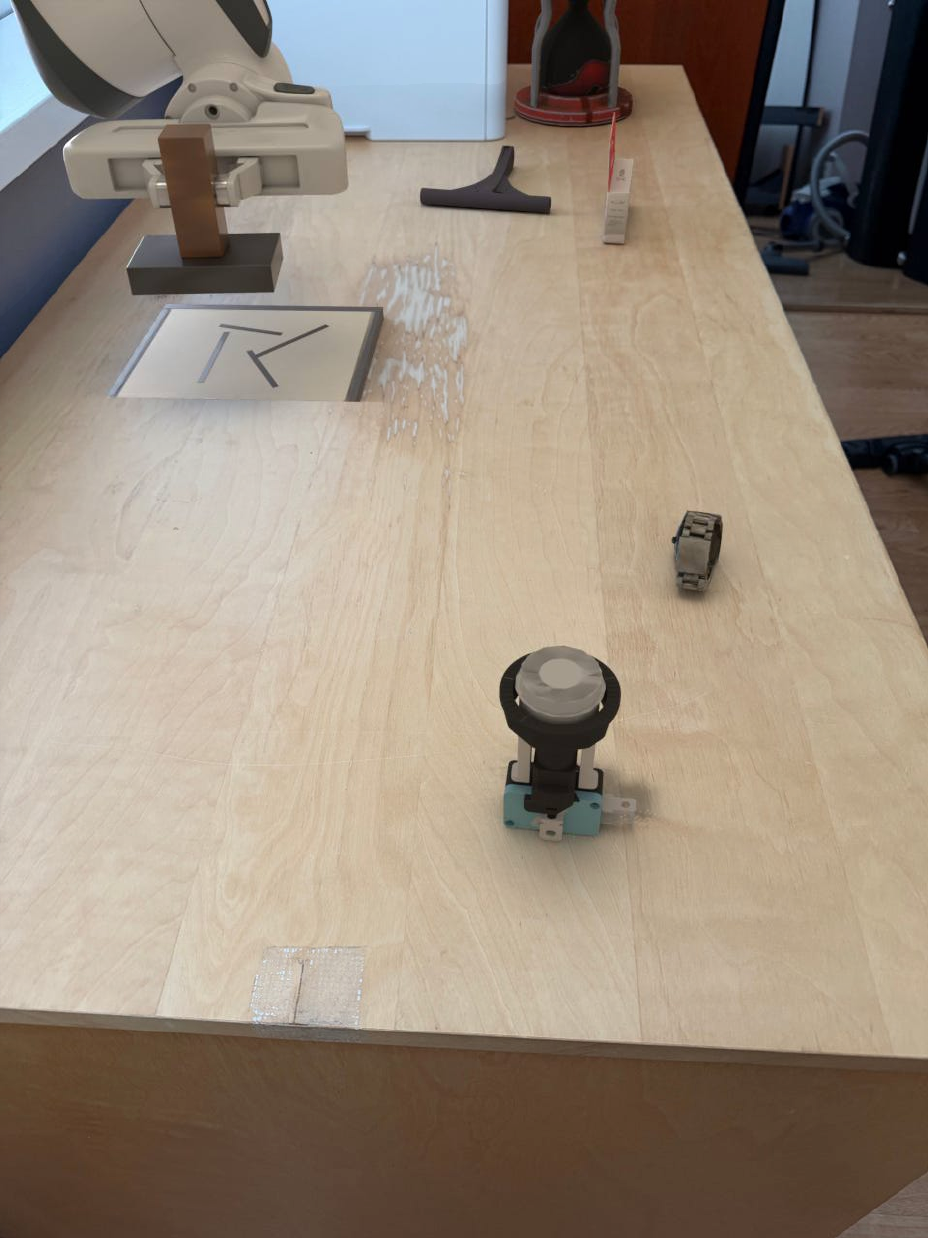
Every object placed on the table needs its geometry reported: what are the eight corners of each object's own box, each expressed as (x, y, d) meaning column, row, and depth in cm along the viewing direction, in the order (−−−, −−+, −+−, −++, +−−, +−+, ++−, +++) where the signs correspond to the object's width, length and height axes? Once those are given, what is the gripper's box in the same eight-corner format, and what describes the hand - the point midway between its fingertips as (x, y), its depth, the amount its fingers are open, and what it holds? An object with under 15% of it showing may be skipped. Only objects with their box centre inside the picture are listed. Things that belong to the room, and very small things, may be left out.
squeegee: (568, 169, 124) (569, 145, 122) (548, 214, 113) (549, 188, 111) (450, 163, 126) (450, 139, 124) (420, 207, 115) (418, 181, 113)
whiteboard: (87, 440, 79) (83, 428, 78) (167, 313, 96) (165, 303, 95) (347, 446, 78) (346, 434, 77) (383, 317, 94) (383, 306, 94)
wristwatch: (713, 595, 66) (725, 518, 66) (703, 589, 61) (716, 505, 62) (666, 589, 67) (677, 513, 67) (652, 582, 63) (665, 500, 63)
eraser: (132, 295, 73) (97, 146, 66) (149, 261, 78) (119, 118, 71) (274, 292, 73) (253, 143, 67) (283, 258, 78) (265, 115, 71)
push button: (634, 784, 53) (654, 640, 46) (631, 871, 49) (653, 727, 42) (504, 771, 54) (506, 627, 47) (492, 856, 50) (492, 711, 43)
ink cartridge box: (629, 206, 114) (638, 110, 108) (625, 245, 106) (634, 144, 100) (607, 205, 115) (614, 110, 108) (601, 244, 106) (608, 143, 100)
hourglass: (572, 135, 134) (584, -100, 117) (489, 108, 143) (490, -113, 126) (657, 110, 141) (679, -114, 125) (573, 86, 151) (584, -125, 134)
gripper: (80, 92, 79) (26, 150, 69) (350, 87, 79) (336, 145, 69) (100, 177, 83) (52, 245, 73) (356, 173, 83) (345, 239, 73)
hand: (193, 196), depth 71 cm, fingers closed on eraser, 3 cm apart
